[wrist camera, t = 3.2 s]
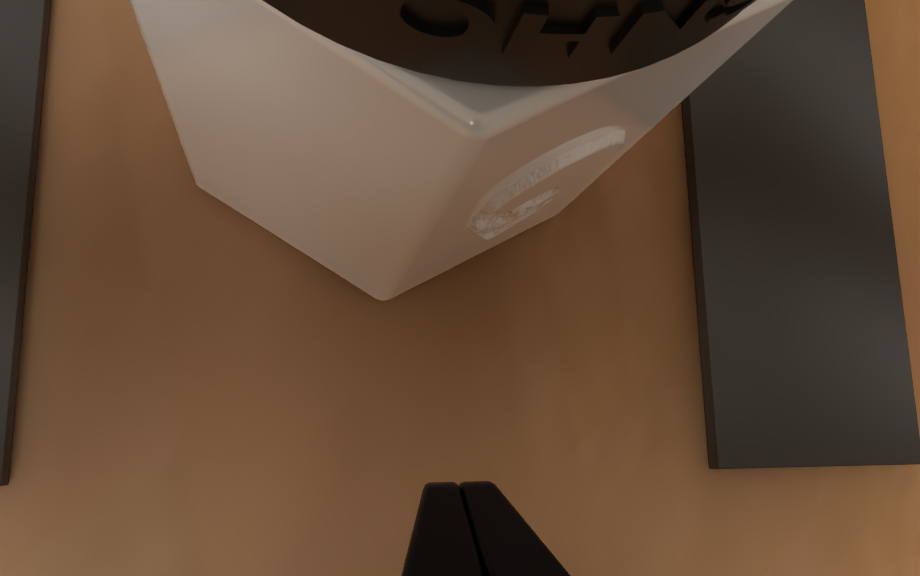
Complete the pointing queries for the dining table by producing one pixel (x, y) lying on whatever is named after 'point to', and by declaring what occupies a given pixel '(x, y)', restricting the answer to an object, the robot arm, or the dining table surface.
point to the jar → (423, 112)
